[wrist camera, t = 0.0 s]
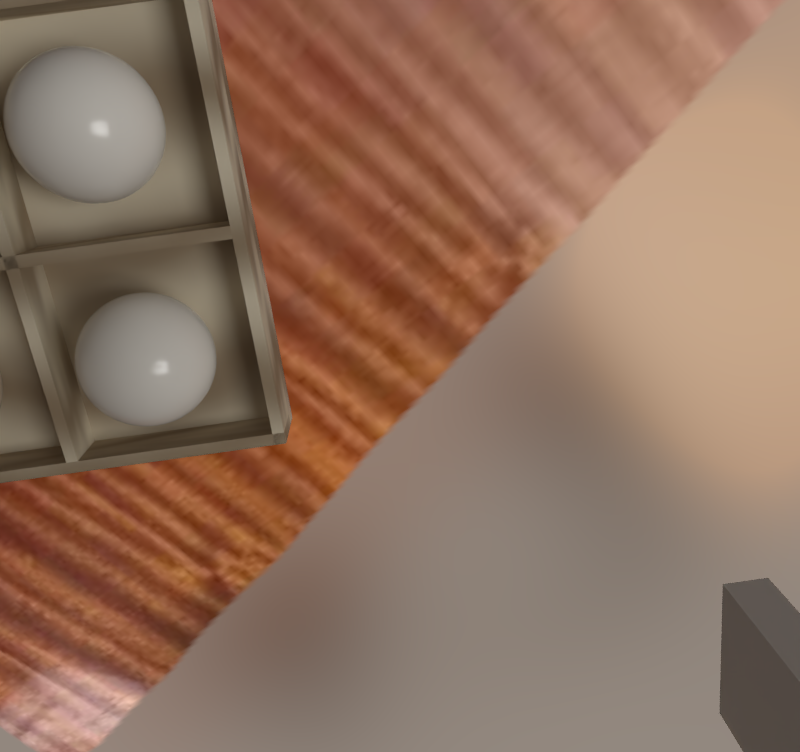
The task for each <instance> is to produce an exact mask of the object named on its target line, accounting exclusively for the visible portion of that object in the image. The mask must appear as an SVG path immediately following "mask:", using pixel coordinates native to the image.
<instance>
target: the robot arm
mask: <svg viewBox="0 0 800 752" xmlns="http://www.w3.org/2000/svg"><path fill="white" fill-rule="evenodd" d="M722 600H723V601H722V641H721V681H720V714H721V715H722V717H723V719H724V721H725V722H726V724H727V726H728V727H729V729H730V730H731V732H732V734H733V735H734V737H735V739H736V740H737V742H738V744H739V745H740V747H741V748H742V750H743V752H800V613H799V612H798V611H797V610H796V609H795V607H794V606H793V605H792V604H791V603H790V602H789V601H788V600H787V598H786V597H785V596H784V595H783V594H782V593H781V592H780V591H779V590H778V589H777V587H776V586H775V585H774V584H773V583H772V582H771V581H770V580H769V578H764V579H757V580H750V581H743V582H736V583H728V584H723V599H722Z"/></svg>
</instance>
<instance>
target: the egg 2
mask: <svg viewBox="0 0 800 752" xmlns="http://www.w3.org/2000/svg"><path fill="white" fill-rule="evenodd" d="M216 365H217V359H216V348H215V344H214V340H213V337H212V335H211V333H210V330H209V329H208V327H207V325H206V324H205V322H204V321H203V320H202V319H201V317H200V316H199V315H198V314H197V313H196V312H195V311H194V310H192V309H191V308H190V307H189V306H187V305H186V304H184V303H182V302H181V301H179V300H177V299H175V298H172V297H170V296H166V295H163V294H158V293H149V292H143V293H132V294H127V295H124V296H121V297H118V298H116V299H114V300H112V301H110V302H108V303H106V304H104V305H103V306H102V307H100V308H99V309H98V310H97V311H96V312H95V313H94V314H93V315H92V316H91V317H90V318H89V319H88V321H87V322H86V323H85V325H84V327H83V328H82V330H81V332H80V335H79V337H78V340H77V343H76V348H75V370H76V375H77V378H78V381H79V383H80V386H81V388H82V390H83V391H84V393H85V395H86V396H87V398H88V399H89V400H90V401H91V402H92V404H93V405H94V406H95V407H96V408H98V409H99V410H100V411H101V412H103V413H104V414H105V415H107V416H109V417H111V418H112V419H114V420H117V421H119V422H122V423H125V424H129V425H134V426H144V427H149V426H158V425H163V424H167V423H170V422H173V421H176V420H178V419H180V418H182V417H183V416H185V415H186V414H188V413H189V412H191V411H192V410H193V409H194V408H196V407H197V406H198V405H199V403H200V402H201V401H202V400H203V399H204V397H205V396H206V394H207V393H208V391H209V389H210V387H211V385H212V382H213V380H214V376H215V372H216Z"/></svg>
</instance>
